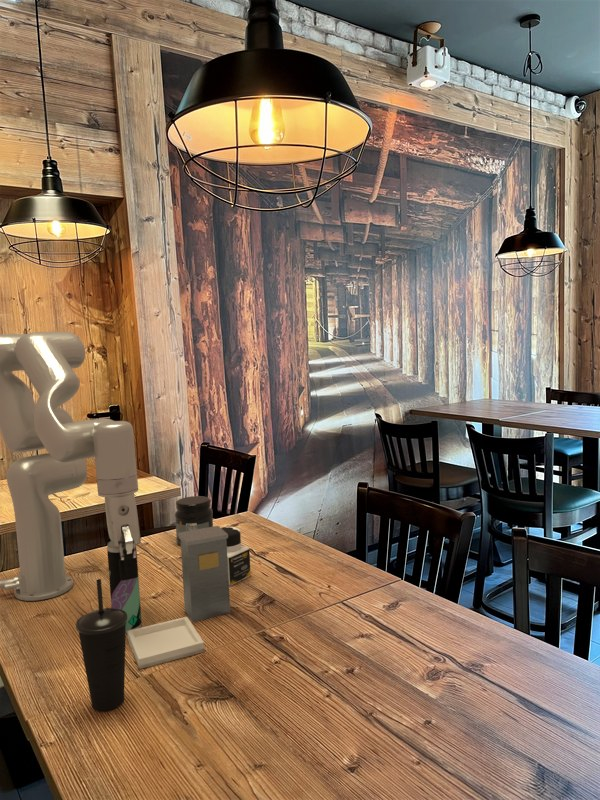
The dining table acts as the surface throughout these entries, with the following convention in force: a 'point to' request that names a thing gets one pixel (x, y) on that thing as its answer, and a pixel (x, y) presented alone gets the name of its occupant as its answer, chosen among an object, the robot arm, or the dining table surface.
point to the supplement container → (192, 514)
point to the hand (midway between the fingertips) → (125, 570)
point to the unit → (205, 573)
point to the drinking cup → (104, 654)
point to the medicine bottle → (236, 556)
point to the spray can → (124, 589)
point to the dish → (164, 642)
